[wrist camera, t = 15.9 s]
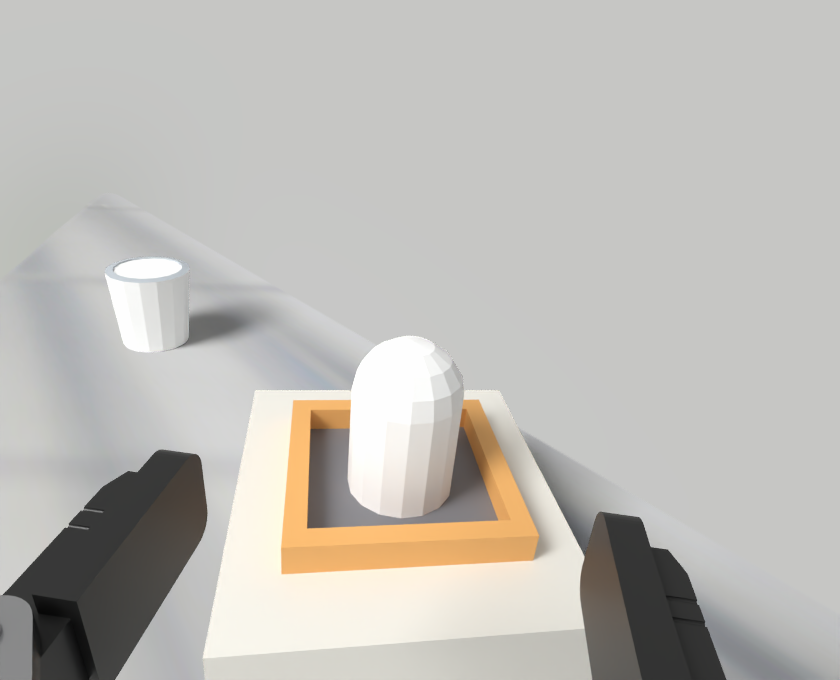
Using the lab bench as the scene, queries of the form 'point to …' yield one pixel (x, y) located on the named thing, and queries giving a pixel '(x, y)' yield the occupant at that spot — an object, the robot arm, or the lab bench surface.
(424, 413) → the capsule
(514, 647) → the plate
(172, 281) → the white tapered cup
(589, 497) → the lab bench surface
